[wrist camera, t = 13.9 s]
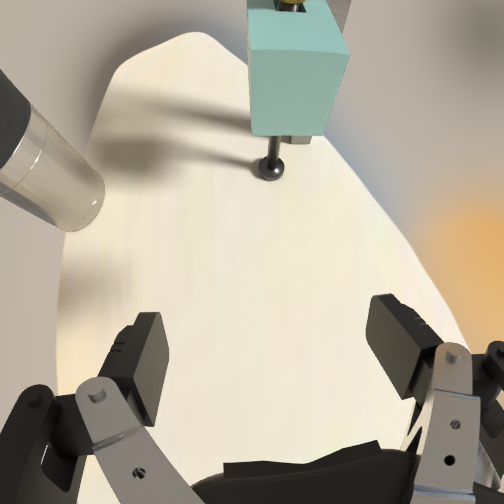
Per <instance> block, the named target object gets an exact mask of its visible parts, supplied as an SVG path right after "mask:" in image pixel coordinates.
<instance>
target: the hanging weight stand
mask: <svg viewBox="0 0 504 504" xmlns="http://www.w3.org/2000/svg"><path fill="white" fill-rule="evenodd" d="M279 1H280V2H279V11H281V12H299V5H300V3H303V2H305V1H307V0H279ZM325 1H326V2H327V4H328V6H329V8H330V11H331V13H332V15H333V17H334V19H335V21H336V23H337V25H338V27H339V30H340V32H341V34H342V32H343V29H344V25H345V21H346V18H347V14H348V10H349V7H350V3H351V0H325ZM311 137H312V136H290V138H291V144H310V141H311ZM280 142H281V136H269V145H268V156H266V157H264V158H263V159H262V160H261V161H260V164H259V173H260V175H261V176H262V177H263V178H264V179H266V180H269V181H275V180H278V179H279V178H281V176H282V175H283V172H284V163H283V161H282V160H281V159H280V158H278V156H279V149H280Z"/></svg>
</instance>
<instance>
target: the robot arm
mask: <svg viewBox="0 0 504 504" xmlns="http://www.w3.org/2000/svg"><path fill="white" fill-rule="evenodd" d="M104 194H105V188H104V183H103V180H102V178H101V176H100V175H99V174H98V173H97V172H96V171H95V170H94V169H93V168H92V167H91V166H90V165H89V164H88V163H87V162H86V161H85V160H84V159H83V158H82V157H81V156H80V155H79V154H78V153H77V152H76V151H75V149H73V147H72V146H70V145H69V143H68V142H67V141H66V140H65V139H64V138H63V137H62V136H61V135H60V134H59V133H58V132H57V131H56V130H55V129H54V128H53V127H52V126H51V125H50V123H49V122H48V121H47V120H46V119H45V118H44V117H43V116H42V115H41V114H40V113H39V112H38V111H37V110H36V109H35V108H34V106H33V105H32V104H31V103H30V102H29V101H28V100H27V99H26V98H25V97H24V96H23V95H22V93H20V91H19V90H18V89H17V88H16V87H15V86H14V85H13V83H12V82H11V81H10V80H9V79H8V78H7V76H6V75H5V74H4V73H3V72H2V71H1V69H0V196H1V197H3V198H5V199H6V200H8V201H10V202H12V203H13V204H15V205H17V206H19V207H21V208H22V209H24V210H26V211H28V212H30V213H32V214H33V215H35V216H37V217H39V218H41V219H43V220H45V221H46V222H48V223H50V224H52V225H54V226H56V227H58V228H60V229H62V230H65V231H67V232H74V231H78V230H80V229H82V228H84V227H86V226H87V225H88V224H90V222H91V221H92V220H93V219H94V218H95V217H96V215H97V214H98V212H99V210H100V208H101V206H102V203H103V200H104ZM366 339H367V342H368V344H369V346H370V348H371V349H372V351H373V353H374V354H375V356H376V357H377V359H378V361H379V362H380V364H381V366H382V367H383V369H384V371H385V372H386V374H387V376H388V377H389V379H390V381H391V382H392V384H393V386H394V387H395V389H396V391H397V392H398V394H399V396H400V398H401V399H402V400H404V399H407V398H411V397H414V398H415V402H414V404H413V407H412V411H411V415H410V419H409V422H408V426H407V429H406V433H405V436H404V439H403V442H402V445H401V448H400V450H396V449H381V448H380V446H379V443H378V441H377V440H374V441H371V442H367V443H363V444H359V445H355V446H351V447H347V448H342V449H340V450H338V451H336V452H334V453H331V454H329V455H327V456H324V457H322V458H320V459H317V460H315V461H312V462H310V463H306V464H296V463H282V462H271V461H252V462H235V463H223V467H224V473H220V474H216V475H213V476H210V477H207V478H205V479H203V480H200V481H199V482H197V483H195V484H193V485H192V486H189V485H188V484H187V483H186V481H185V480H184V479H183V478H182V477H181V475H180V474H179V473H178V472H177V471H176V469H175V468H174V467H173V465H172V464H171V463H170V462H169V460H168V459H167V458H166V456H165V455H164V454H163V452H162V451H161V450H160V448H159V447H158V446H157V444H156V443H155V441H154V440H153V439H152V437H151V436H150V434H149V433H148V431H147V430H146V429H145V427H144V426H148V427H154V425H155V420H156V415H157V411H158V406H159V401H160V397H161V392H162V388H163V383H164V379H165V375H166V370H167V366H168V362H169V347H168V342H167V338H166V334H165V330H164V326H163V321H162V317H161V314H160V313H159V312H140V313H139V314H138V316H137V318H136V320H135V322H134V324H133V325H127V326H126V327H125V328H124V329H123V330H122V331H120V332H119V333H118V335H117V337H116V339H115V341H114V344H113V345H112V347H111V349H110V352H109V353H108V355H107V357H106V359H105V361H104V363H103V365H102V368H101V370H100V372H99V374H98V376H97V377H94V378H91V379H88V380H86V381H85V382H83V383H82V384H81V385H80V386H79V387H78V389H77V391H76V394H69V395H62V396H54V394H53V392H52V391H51V389H50V388H49V387H48V386H46V385H41V384H38V385H33V386H30V387H28V388H27V389H25V390H24V391H23V392H22V393H21V395H20V396H19V398H18V400H17V402H16V403H15V405H14V407H13V409H12V411H11V413H10V415H9V417H8V419H7V421H6V423H5V425H4V427H3V429H2V431H1V433H0V504H76V503H77V497H78V493H79V488H80V483H81V479H82V474H83V470H84V466H85V462H86V458H87V455H94V454H95V456H96V458H97V461H98V463H99V465H100V467H101V469H102V471H103V473H104V475H105V477H106V478H107V480H108V482H109V484H110V486H111V488H112V489H113V491H114V493H115V495H116V497H117V498H118V500H119V502H120V503H121V504H504V410H503V409H502V407H501V406H500V404H499V403H498V401H497V400H496V398H497V396H498V395H499V393H500V391H501V390H503V391H504V342H502V341H493V342H491V343H490V344H489V346H488V348H487V351H486V353H485V354H471V353H470V352H469V351H468V349H466V348H465V347H464V346H462V345H460V344H457V343H452V342H447V343H444V341H443V340H442V339H441V338H440V337H439V336H438V335H437V334H436V333H435V332H434V331H433V329H432V328H431V327H430V326H429V325H428V324H426V322H425V321H424V320H423V319H422V318H421V317H420V316H419V315H418V313H417V312H416V311H415V310H414V309H412V308H410V307H408V306H406V305H405V304H401V303H400V302H399V301H398V299H397V298H396V297H395V296H394V295H393V294H391V293H389V294H382V295H375V296H373V297H372V299H371V302H370V308H369V314H368V320H367V325H366ZM479 440H480V441H481V443H482V445H483V447H484V449H485V450H486V452H487V454H488V456H489V458H490V460H491V462H492V463H493V465H494V467H495V469H496V471H497V473H498V475H499V477H500V479H501V488H500V489H499V490H498V491H497V490H494V489H492V488H489V487H486V486H484V485H481V484H479V483H476V482H474V476H475V470H476V462H477V454H478V444H479ZM46 445H48V447H47V450H46V453H45V456H44V459H43V462H42V465H41V460H42V457H43V454H44V451H45V448H46Z"/></svg>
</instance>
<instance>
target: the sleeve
mask: <svg viewBox="0 0 504 504" xmlns="http://www.w3.org/2000/svg"><path fill="white" fill-rule="evenodd" d="M279 2H280V1H279V0H247V35H248V77H249V95H250V114H251V134H252V136H322V135H323V132H324V129H325V126H326V123H327V120H328V118H329V115H330V112H331V109H332V106H333V104H334V101H335V98H336V95H337V92H338V89H339V86H340V83H341V81H342V78H343V75H344V72H345V69H346V66H347V63H348V60H349V57H350V53H349V51H348V48H347V46H346V43H345V41H344V39H343V37H342V34H341V32H340V30H339V27H338V25H337V23H336V21H335V19H334V17H333V15H332V13H331V11H330V8H329V6H328V4H327V2H326V1H325V0H307V1H305V2H303V3H300V5H299V12H281V11H279Z"/></svg>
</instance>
